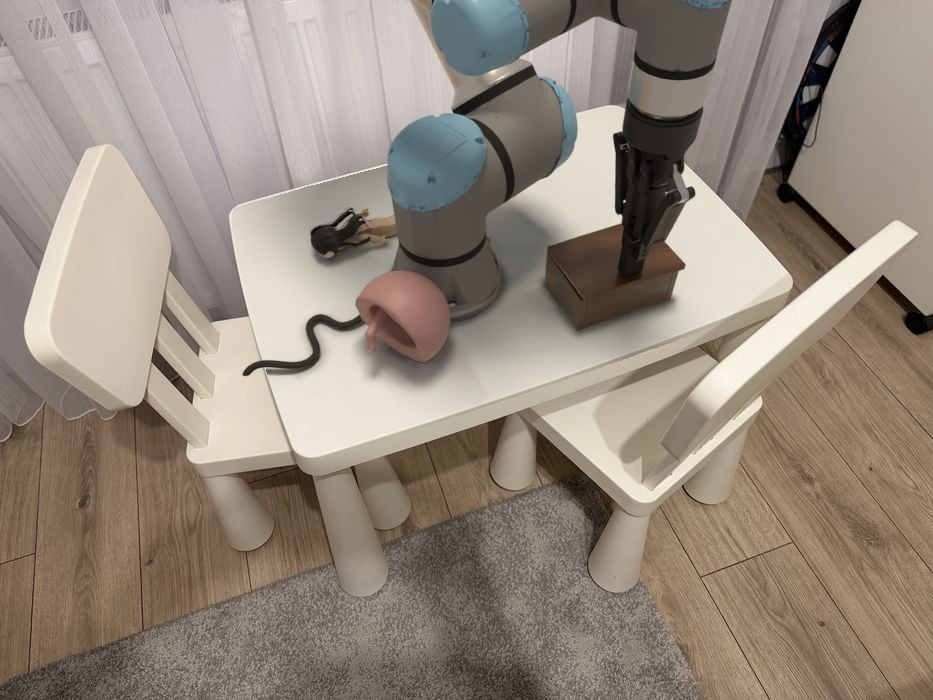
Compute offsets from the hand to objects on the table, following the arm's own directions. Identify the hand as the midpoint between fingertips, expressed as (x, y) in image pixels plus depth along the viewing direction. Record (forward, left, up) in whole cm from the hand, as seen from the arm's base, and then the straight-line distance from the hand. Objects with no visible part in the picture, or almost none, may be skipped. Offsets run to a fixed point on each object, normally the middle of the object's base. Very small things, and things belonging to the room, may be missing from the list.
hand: (629, 270), depth 85 cm
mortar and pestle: (-17, +17, 0) cm, 24 cm away
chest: (+2, +3, -8) cm, 9 cm away
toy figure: (-9, +39, -8) cm, 41 cm away
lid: (+2, +3, -1) cm, 4 cm away
